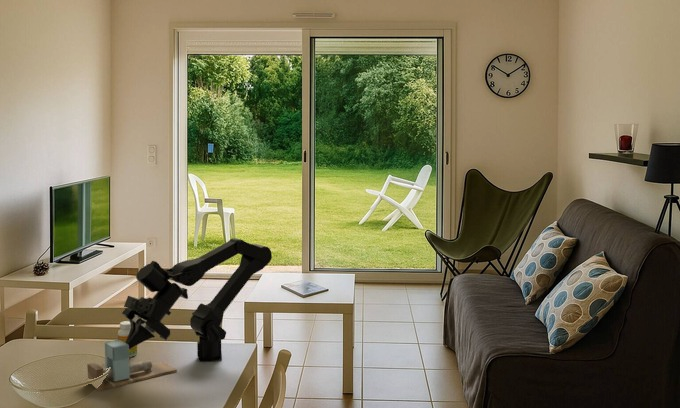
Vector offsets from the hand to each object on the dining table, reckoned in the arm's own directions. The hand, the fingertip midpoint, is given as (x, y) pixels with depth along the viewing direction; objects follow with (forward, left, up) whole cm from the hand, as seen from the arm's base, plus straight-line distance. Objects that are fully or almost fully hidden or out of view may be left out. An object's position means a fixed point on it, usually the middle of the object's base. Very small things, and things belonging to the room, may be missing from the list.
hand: (125, 348), depth 182 cm
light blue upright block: (+2, +1, -8) cm, 8 cm away
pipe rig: (-2, -1, -8) cm, 8 cm away
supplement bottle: (+2, -20, -8) cm, 22 cm away
